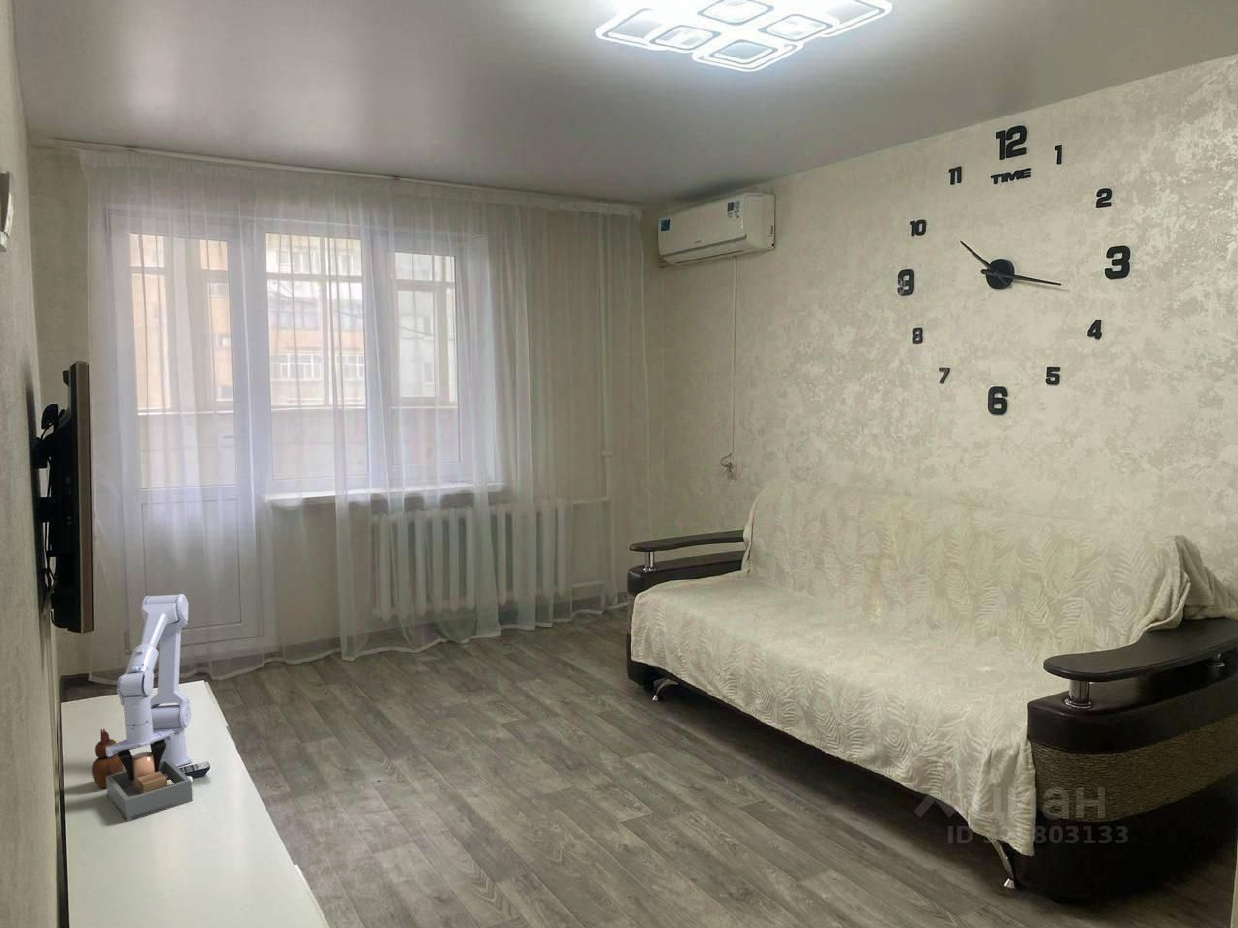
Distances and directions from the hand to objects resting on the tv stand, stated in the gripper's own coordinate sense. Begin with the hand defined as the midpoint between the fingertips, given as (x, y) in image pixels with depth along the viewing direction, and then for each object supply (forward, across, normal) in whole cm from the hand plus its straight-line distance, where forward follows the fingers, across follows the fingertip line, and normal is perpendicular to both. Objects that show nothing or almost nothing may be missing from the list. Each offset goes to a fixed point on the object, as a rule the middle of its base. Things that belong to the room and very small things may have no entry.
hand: (143, 775), depth 216 cm
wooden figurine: (+5, -5, +12) cm, 14 cm away
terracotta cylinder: (+2, 0, 0) cm, 2 cm away
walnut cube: (+3, 0, -7) cm, 8 cm away
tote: (+4, 0, -4) cm, 6 cm away
